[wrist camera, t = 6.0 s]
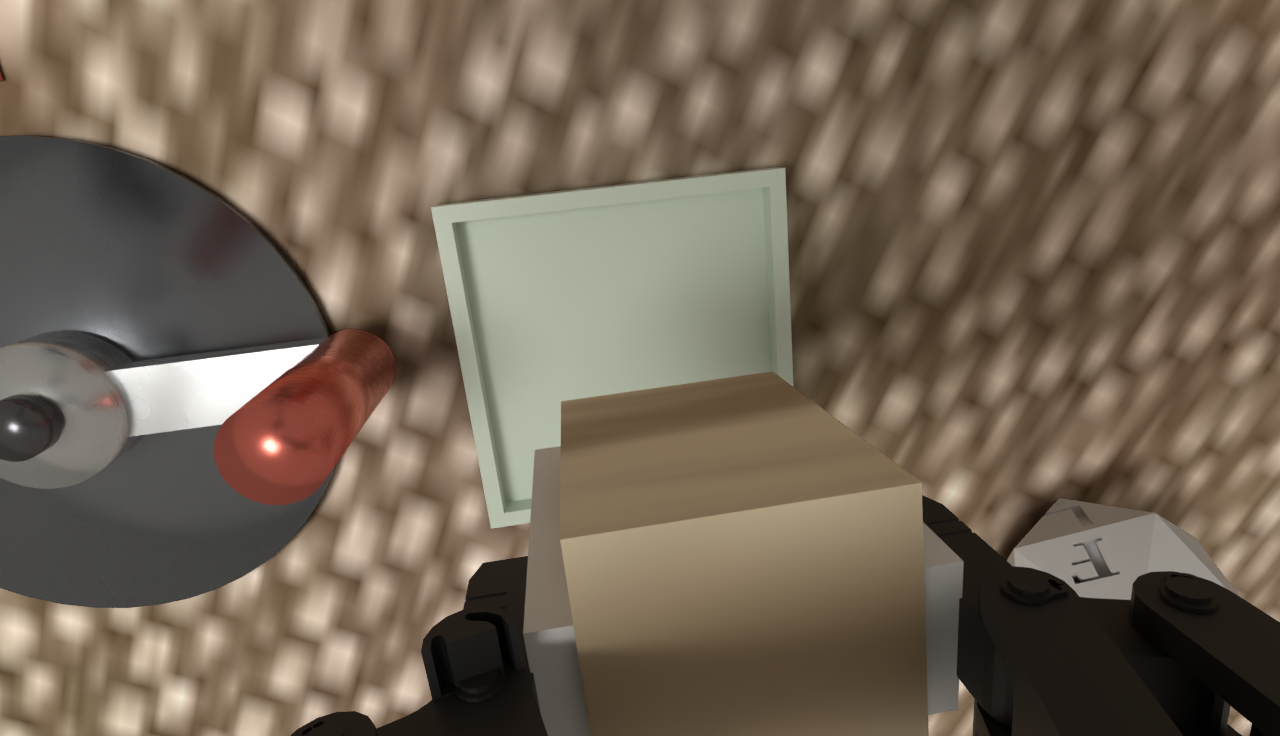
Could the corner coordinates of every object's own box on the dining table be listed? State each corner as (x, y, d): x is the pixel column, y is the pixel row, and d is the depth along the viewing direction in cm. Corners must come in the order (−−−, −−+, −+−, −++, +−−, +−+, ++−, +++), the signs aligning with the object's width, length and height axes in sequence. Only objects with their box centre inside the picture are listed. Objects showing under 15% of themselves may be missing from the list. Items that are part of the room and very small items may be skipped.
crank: (28, 470, 26) (-217, 617, 17) (-24, 340, 24) (-318, 433, 16) (412, 418, 27) (350, 533, 19) (384, 291, 25) (305, 355, 17)
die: (1147, 464, 33) (1216, 486, 24) (1237, 653, 32) (1347, 752, 23) (965, 515, 37) (966, 551, 28) (1037, 689, 35) (1063, 788, 26)
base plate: (-299, 166, 22) (-477, 168, 19) (279, 110, 24) (225, 100, 20) (-71, 633, 28) (-172, 710, 24) (388, 562, 29) (363, 625, 25)
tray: (437, 204, 25) (430, 207, 24) (772, 167, 27) (785, 167, 25) (494, 510, 29) (491, 528, 28) (785, 467, 30) (797, 482, 29)
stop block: (560, 401, 16) (560, 539, 9) (772, 371, 16) (921, 482, 10) (589, 595, 17) (608, 846, 10) (787, 563, 18) (929, 784, 11)
